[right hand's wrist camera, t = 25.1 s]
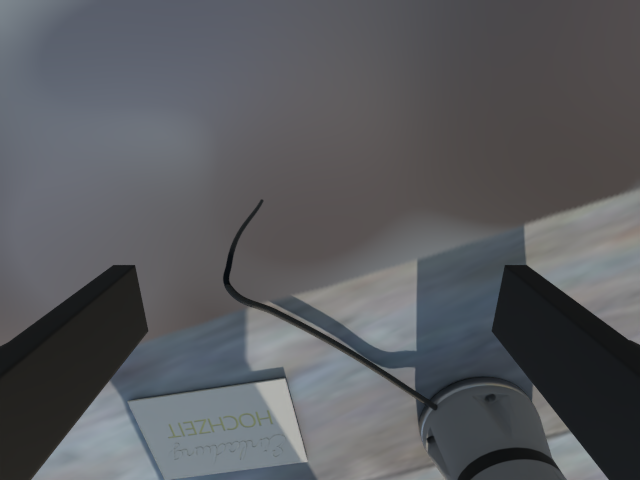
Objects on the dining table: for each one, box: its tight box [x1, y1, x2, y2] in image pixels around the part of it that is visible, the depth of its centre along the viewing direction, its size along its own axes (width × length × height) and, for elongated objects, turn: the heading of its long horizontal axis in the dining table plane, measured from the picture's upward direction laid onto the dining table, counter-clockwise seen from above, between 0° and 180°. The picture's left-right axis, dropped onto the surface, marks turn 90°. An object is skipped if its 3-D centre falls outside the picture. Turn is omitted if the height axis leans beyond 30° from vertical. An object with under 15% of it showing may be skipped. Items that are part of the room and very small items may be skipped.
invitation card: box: [128, 378, 308, 480], centre depth 47 cm, size 21×1×15 cm
